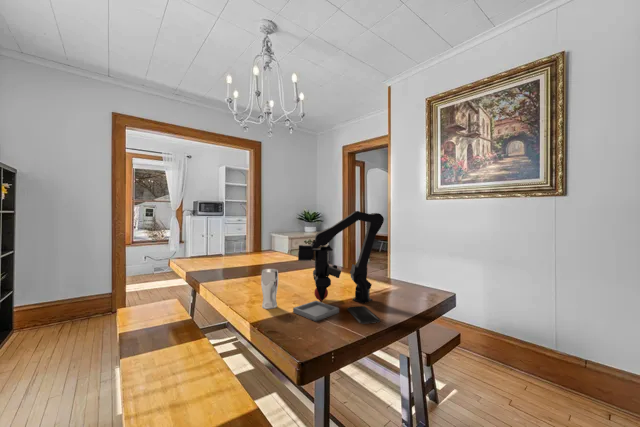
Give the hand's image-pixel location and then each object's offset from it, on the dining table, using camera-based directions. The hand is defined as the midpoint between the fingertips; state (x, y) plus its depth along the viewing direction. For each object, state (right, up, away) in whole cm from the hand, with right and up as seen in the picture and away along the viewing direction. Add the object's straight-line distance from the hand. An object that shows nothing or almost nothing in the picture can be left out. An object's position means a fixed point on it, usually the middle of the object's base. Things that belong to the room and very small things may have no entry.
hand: (321, 296), depth 122 cm
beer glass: (-21, -2, -7) cm, 22 cm away
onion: (0, -2, 0) cm, 2 cm away
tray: (-2, -2, -13) cm, 14 cm away
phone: (+16, -3, -16) cm, 22 cm away
